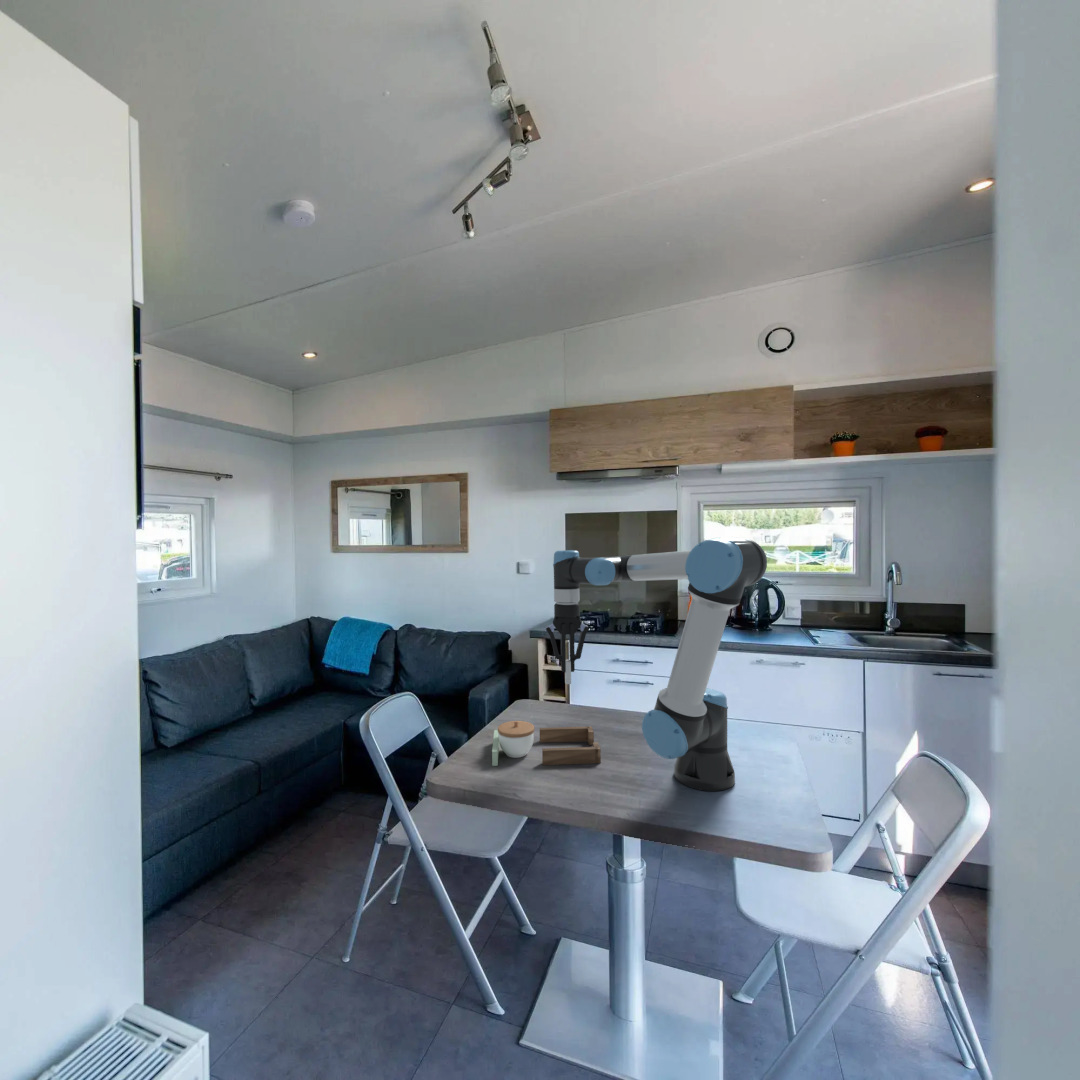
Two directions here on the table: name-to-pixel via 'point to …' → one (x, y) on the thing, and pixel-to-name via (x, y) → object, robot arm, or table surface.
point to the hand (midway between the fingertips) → (568, 682)
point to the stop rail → (495, 749)
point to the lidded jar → (516, 738)
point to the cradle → (569, 754)
